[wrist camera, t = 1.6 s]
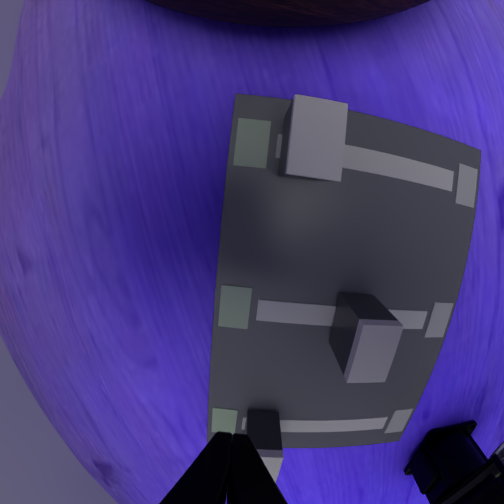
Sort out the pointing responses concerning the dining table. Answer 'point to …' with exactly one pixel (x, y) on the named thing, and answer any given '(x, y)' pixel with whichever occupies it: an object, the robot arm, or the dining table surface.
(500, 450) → the coffee can
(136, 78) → the dining table surface
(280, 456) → the breaker far
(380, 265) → the panel
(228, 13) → the wooden bowl
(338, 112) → the block
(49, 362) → the dining table surface
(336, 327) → the block
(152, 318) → the dining table surface
